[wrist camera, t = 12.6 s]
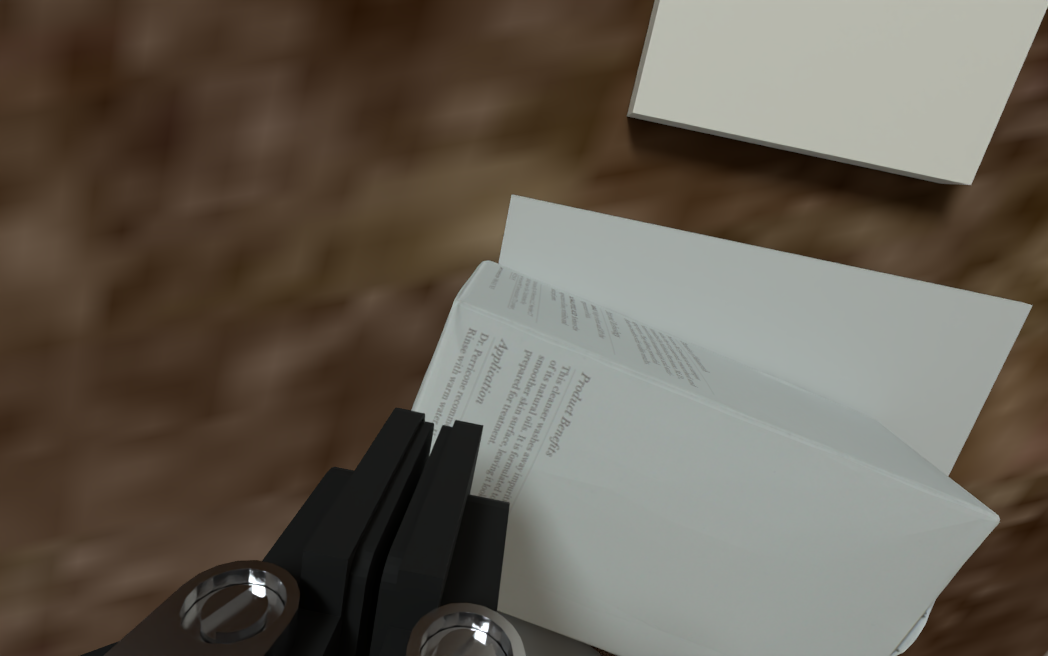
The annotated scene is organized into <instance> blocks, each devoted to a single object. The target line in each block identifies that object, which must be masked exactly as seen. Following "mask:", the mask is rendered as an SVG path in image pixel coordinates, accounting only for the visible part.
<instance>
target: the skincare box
mask: <svg viewBox="0 0 1048 656" xmlns="http://www.w3.org/2000/svg"><path fill="white" fill-rule="evenodd" d="M411 411H416V412H420V413H425V421H426V422H431V423H434V431H433V437H432V443H431V449H430V453H431V451H432V449H433V446H434V444H435V441H436V439H437V437H438V434H439V432H440V430H441V427H442V425H446V426H451V427H453V424H454V422H455V420H459V421H464V422H469V423H474V424H479V425H484V426H483V432H482V437H481V442H480V447H479V452H478V457H477V462H476V467H475V472H474V477H473V482H472V487H471V492H470V495H475V496H480V497H485V498H490V499H495V500H500V501H505V502H509V503H510V506H509V515H508V524H507V532H506V540H505V549H504V557H503V565H502V574H501V582H500V590H499V599H498V607H497V611H500V612H503V613H505V614H508V615H511V616H514V617H516V618H519V619H521V620H524V621H527V622H530V623H532V624H535V625H538V626H541V627H543V628H546V629H549V630H551V631H554V632H557V633H559V634H562V635H565V636H567V637H570V638H572V639H575V640H578V641H581V642H583V643H586V644H589V645H591V646H594V647H597V648H599V649H602V650H605V651H607V652H610V653H612V654H614V655H617V656H897V655H899V654H901V653H903V652H904V651H905V650H906V649H907V648H909V647H910V646H911V644H912V643H913V642H914V641H915V640H916V638H917V637H918V635H919V634H920V632H921V631H922V629H923V628H924V626H925V624H926V622H927V619H928V616H929V614H930V611H931V609H932V607H933V604H934V602H935V600H936V598H937V597H938V596H939V594H940V593H941V592H942V591H943V589H944V588H945V587H946V586H947V584H948V583H949V582H950V581H951V579H952V578H953V577H954V576H955V574H956V573H957V572H958V570H959V569H960V568H961V567H962V565H963V564H964V563H965V562H966V561H967V559H968V558H969V557H970V556H971V555H972V554H973V552H974V551H975V550H976V549H977V548H978V547H979V545H980V544H981V543H982V542H983V541H984V540H985V538H986V537H987V536H988V535H989V534H990V532H991V531H992V530H993V529H994V528H995V527H996V526H997V525H998V524H999V521H1000V518H999V516H998V515H997V514H996V513H995V512H993V511H992V510H991V509H989V508H988V507H987V506H985V505H984V504H983V503H982V502H980V501H979V500H978V499H976V498H975V497H974V496H973V495H971V494H970V493H969V492H967V491H966V490H965V489H963V488H962V487H961V486H960V485H958V484H957V483H956V482H954V481H953V480H952V479H951V478H949V477H948V476H947V475H945V474H944V473H943V472H942V471H940V470H939V469H938V468H936V467H935V466H934V465H933V464H931V463H930V462H929V461H927V460H926V459H925V458H924V457H922V456H921V455H920V454H919V453H917V452H916V451H915V450H913V449H912V448H911V447H910V446H909V445H908V444H906V443H905V442H904V441H903V440H901V439H900V438H899V437H898V436H896V435H895V434H894V433H893V432H892V431H890V430H889V429H888V428H886V427H885V426H884V425H882V424H881V423H880V422H879V421H877V420H875V419H873V418H871V417H869V416H866V415H864V414H862V413H860V412H857V411H855V410H852V409H850V408H848V407H845V406H843V405H840V404H838V403H836V402H833V401H831V400H828V399H826V398H823V397H821V396H818V395H816V394H814V393H811V392H809V391H807V390H805V389H802V388H800V387H798V386H796V385H794V384H791V383H789V382H786V381H784V380H781V379H779V378H776V377H774V376H771V375H769V374H766V373H763V372H760V371H758V370H755V369H752V368H750V367H747V366H745V365H743V364H740V363H738V362H735V361H733V360H731V359H728V358H726V357H723V356H721V355H718V354H716V353H713V352H711V351H708V350H706V349H704V348H701V347H699V346H696V345H694V344H692V343H689V342H687V341H684V340H682V339H679V338H677V337H674V336H672V335H670V334H667V333H665V332H662V331H660V330H657V329H655V328H652V327H650V326H647V325H645V324H643V323H640V322H638V321H635V320H633V319H631V318H628V317H626V316H624V315H621V314H619V313H616V312H614V311H611V310H609V309H607V308H604V307H601V306H599V305H596V304H594V303H592V302H589V301H587V300H584V299H582V298H579V297H577V296H574V295H572V294H569V293H567V292H564V291H562V290H560V289H557V288H555V287H552V286H550V285H548V284H545V283H543V282H540V281H538V280H536V279H533V278H531V277H528V276H526V275H524V274H521V273H519V272H516V271H514V270H512V269H509V268H507V267H504V266H502V265H500V264H497V263H495V262H492V261H482V263H481V264H480V265H479V266H478V267H477V268H476V270H475V271H474V273H473V274H472V275H471V277H470V278H469V279H468V281H467V282H466V283H465V284H464V286H463V287H462V288H461V290H460V291H459V293H458V295H457V296H456V298H455V300H454V302H453V306H452V308H451V311H450V313H449V316H448V319H447V321H446V324H445V326H444V329H443V332H442V334H441V337H440V340H439V342H438V345H437V347H436V350H435V352H434V355H433V357H432V360H431V362H430V365H429V367H428V370H427V372H426V374H425V377H424V379H423V382H422V384H421V387H420V389H419V392H418V395H417V397H416V400H415V402H414V405H413V407H412V410H411ZM429 456H430V455H429Z"/></svg>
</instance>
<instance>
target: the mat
mask: <svg viewBox="0 0 1048 656" xmlns="http://www.w3.org/2000/svg"><path fill="white" fill-rule="evenodd" d="M499 264H500V265H502V266H504V267H507V268H509V269H512V270H514V271H516V272H519V273H521V274H524V275H526V276H528V277H531V278H533V279H536V280H538V281H540V282H543V283H545V284H548V285H550V286H552V287H555V288H557V289H560V290H562V291H564V292H567V293H569V294H572V295H574V296H577V297H579V298H582V299H584V300H587V301H589V302H592V303H594V304H596V305H599V306H601V307H604V308H607V309H609V310H611V311H614V312H616V313H619V314H621V315H624V316H626V317H628V318H631V319H633V320H635V321H638V322H640V323H643V324H645V325H647V326H650V327H652V328H655V329H657V330H660V331H662V332H665V333H667V334H670V335H672V336H674V337H677V338H679V339H682V340H684V341H687V342H689V343H692V344H694V345H696V346H699V347H701V348H704V349H706V350H708V351H711V352H713V353H716V354H718V355H721V356H723V357H726V358H728V359H731V360H733V361H735V362H738V363H740V364H743V365H745V366H747V367H750V368H752V369H755V370H758V371H760V372H763V373H766V374H769V375H771V376H774V377H776V378H779V379H781V380H784V381H786V382H789V383H791V384H794V385H796V386H798V387H800V388H802V389H805V390H807V391H809V392H811V393H814V394H816V395H818V396H821V397H823V398H826V399H828V400H831V401H833V402H836V403H838V404H840V405H843V406H845V407H848V408H850V409H852V410H855V411H857V412H860V413H862V414H864V415H866V416H869V417H871V418H873V419H875V420H877V421H879V422H880V423H881V424H882V425H884V426H885V427H886V428H888V429H889V430H890V431H892V432H893V433H894V434H895V435H896V436H898V437H899V438H900V439H901V440H903V441H904V442H905V443H906V444H908V445H909V446H910V447H911V448H912V449H913V450H915V451H916V452H917V453H919V454H920V455H921V456H922V457H924V458H925V459H926V460H927V461H929V462H930V463H931V464H933V465H934V466H935V467H936V468H938V469H939V470H940V471H942V472H943V473H944V474H945V475H947V476H949V474H950V472H951V470H952V468H953V466H954V463H955V461H956V459H957V457H958V455H959V453H960V451H961V449H962V447H963V445H964V443H965V441H966V439H967V437H968V435H969V433H970V431H971V429H972V427H973V425H974V423H975V421H976V419H977V417H978V415H979V413H980V411H981V409H982V407H983V405H984V403H985V401H986V399H987V397H988V395H989V393H990V391H991V388H992V386H993V384H994V382H995V380H996V378H997V376H998V374H999V372H1000V370H1001V368H1002V366H1003V364H1004V362H1005V360H1006V358H1007V356H1008V354H1009V352H1010V350H1011V348H1012V346H1013V344H1014V342H1015V340H1016V338H1017V336H1018V334H1019V332H1020V330H1021V328H1022V326H1023V324H1024V322H1025V320H1026V318H1027V315H1028V313H1029V311H1030V309H1031V307H1032V305H1030V304H1026V303H1023V302H1018V301H1014V300H1009V299H1004V298H999V297H995V296H990V295H985V294H980V293H976V292H971V291H966V290H962V289H957V288H952V287H947V286H943V285H938V284H933V283H928V282H924V281H919V280H914V279H910V278H905V277H900V276H895V275H891V274H886V273H881V272H876V271H872V270H867V269H862V268H858V267H853V266H848V265H843V264H839V263H834V262H829V261H824V260H820V259H815V258H810V257H805V256H801V255H796V254H791V253H787V252H782V251H777V250H772V249H768V248H763V247H758V246H753V245H749V244H744V243H739V242H735V241H730V240H725V239H720V238H716V237H711V236H706V235H701V234H697V233H692V232H687V231H683V230H678V229H673V228H668V227H664V226H659V225H654V224H649V223H645V222H640V221H635V220H631V219H626V218H621V217H616V216H612V215H607V214H602V213H597V212H593V211H588V210H583V209H578V208H574V207H569V206H564V205H560V204H555V203H550V202H545V201H541V200H536V199H531V198H526V197H522V196H517V195H512V196H511V201H510V206H509V211H508V217H507V222H506V227H505V232H504V238H503V243H502V248H501V253H500V259H499Z"/></svg>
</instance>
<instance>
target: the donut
mask: <svg viewBox="0 0 1048 656" xmlns="http://www.w3.org/2000/svg"><path fill="white" fill-rule="evenodd" d="M497 613H499V614H500V615H501V616H503V617H504V618H505V619H506V620H507V621H508V622H510V623H511V624H512V625H513V627H514V628H515V630H516V631H517V633H518V634H519V636H520V637H521V640H522V643H523V647H524V650H525V654H526V656H602V655H601V654H600V653H599V652H597V651H596V650H595V649H594V648H592V647H591V646H590V645H588V644H586V643H583V642H581V641H578V640H575V639H572V638H570V637H567V636H565V635H562V634H559V633H557V632H554V631H551V630H549V629H546V628H543V627H541V626H538V625H535V624H532V623H530V622H527V621H524V620H521V619H519V618H516V617H514V616H511V615H508V614H505V613H503V612H500V611H497Z"/></svg>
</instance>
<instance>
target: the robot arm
mask: <svg viewBox="0 0 1048 656" xmlns="http://www.w3.org/2000/svg"><path fill="white" fill-rule="evenodd" d="M483 426H484V425H479V424H474V423H469V422H464V421H459V420H455V422H454V424H453V427H451V426H446V425H442V427H441V430H440V432H439V434H438V437H437V439H436V441H435V444H434V446H433V449H432V451H431V453H430V449H431V443H432V437H433V431H434V423H431V422H426V421H425V413H420V412H416V411H411V410H406V409H401V408H395V409H394V410H393V412H392V414H391V415H390V417H389V418H388V420H387V421H386V423H385V424H384V426H383V428H382V429H381V431H380V432H379V434H378V435H377V437H376V438H375V440H374V441H373V443H372V445H371V446H370V448H369V449H368V451H367V452H366V454H365V455H364V457H363V458H362V460H361V462H360V463H359V465H358V466H357V468H356V469H355V471H353V470H348V469H343V468H338V467H332V468H331V469H330V470H329V471H328V472H327V473H326V475H325V476H324V477H323V479H322V480H321V481H320V483H319V484H318V485H317V487H316V488H315V490H314V491H313V492H312V494H311V495H310V496H309V498H308V499H307V501H306V502H305V503H304V505H303V506H302V507H301V509H300V510H299V511H298V513H297V514H296V516H295V517H294V518H293V520H292V521H291V522H290V524H289V525H288V526H287V528H286V529H285V531H284V532H283V533H282V535H281V536H280V537H279V539H278V540H277V541H276V543H275V544H274V546H273V547H272V548H271V550H270V551H269V552H268V554H267V555H266V556H265V558H264V559H263V561H258V560H250V561H235V562H230V563H226V564H222V565H218V566H215V567H213V568H211V569H208V570H206V571H204V572H202V573H199V574H198V575H196V576H195V577H194V578H192V579H191V580H189V581H188V582H186V583H185V584H184V585H182V586H181V587H180V588H179V589H178V590H177V591H176V592H174V593H173V594H172V595H171V596H170V597H169V598H168V599H167V600H165V601H164V602H163V603H162V604H161V605H160V606H159V607H158V608H156V609H155V610H154V611H153V612H152V613H151V614H150V615H148V616H147V617H146V618H145V619H144V620H143V621H142V622H141V623H139V624H138V625H137V626H136V627H135V628H134V629H133V630H132V631H130V632H129V633H128V634H127V635H126V636H125V637H124V638H123V639H121V640H120V641H119V642H116V643H113V644H110V645H108V646H105V647H102V648H99V649H97V650H94V651H91V652H89V653H86V654H83V655H80V656H526V654H525V650H524V647H523V643H522V640H521V637H520V636H519V634H518V633H517V631H516V630H515V628H514V627H513V625H512V624H511V623H510V622H508V621H507V620H506V619H505V618H504V617H503V616H501V615H500V614H499V613H497V607H498V599H499V590H500V582H501V574H502V565H503V557H504V549H505V540H506V532H507V524H508V515H509V506H510V503H509V502H505V501H500V500H495V499H490V498H485V497H480V496H475V495H470V492H471V487H472V482H473V477H474V472H475V467H476V462H477V457H478V452H479V447H480V442H481V437H482V432H483ZM429 455H430V456H429Z"/></svg>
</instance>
